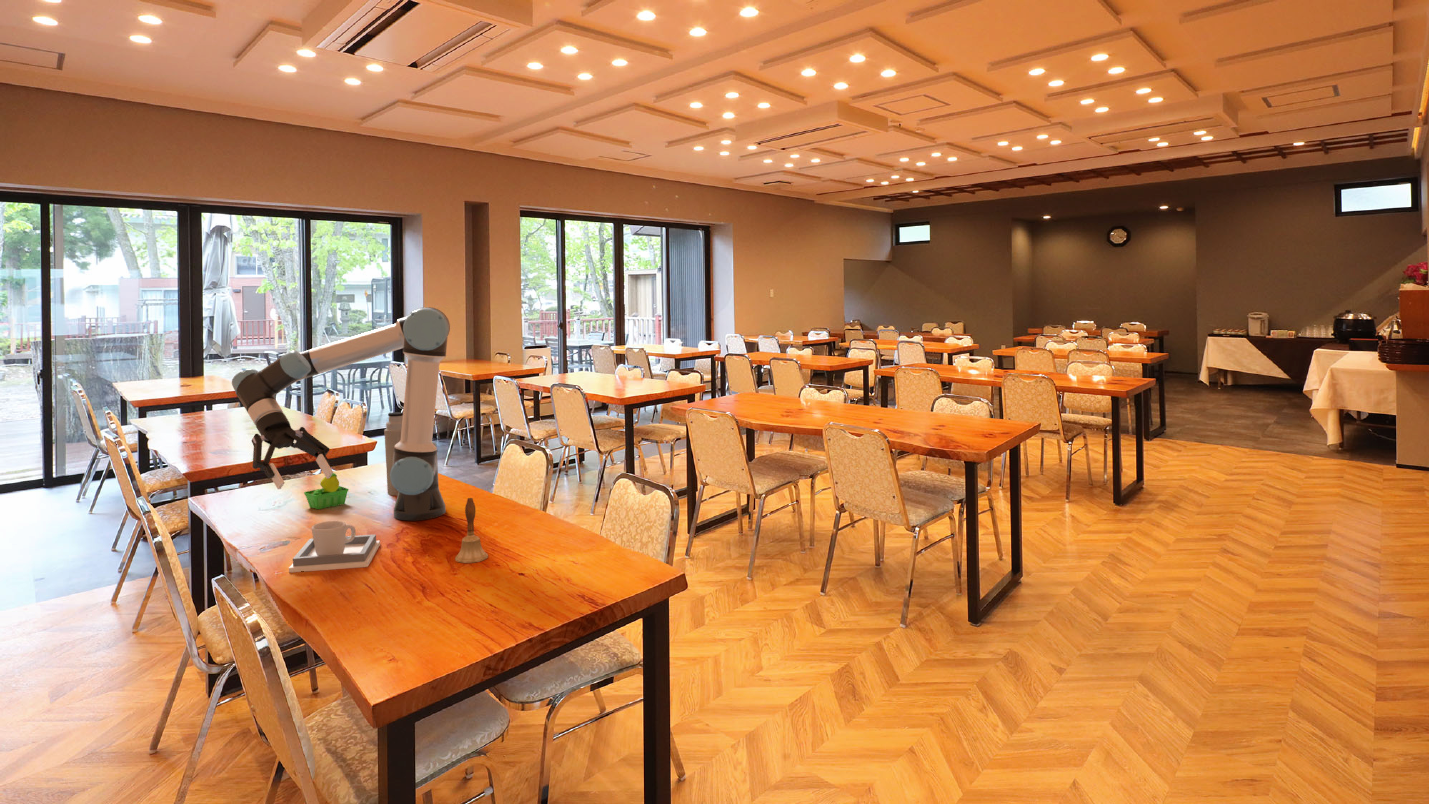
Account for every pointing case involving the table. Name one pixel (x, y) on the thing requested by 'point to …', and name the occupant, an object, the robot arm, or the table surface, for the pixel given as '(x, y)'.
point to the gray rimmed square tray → (337, 555)
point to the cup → (331, 537)
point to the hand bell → (471, 539)
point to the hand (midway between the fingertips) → (306, 480)
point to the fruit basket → (327, 494)
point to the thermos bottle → (392, 444)
